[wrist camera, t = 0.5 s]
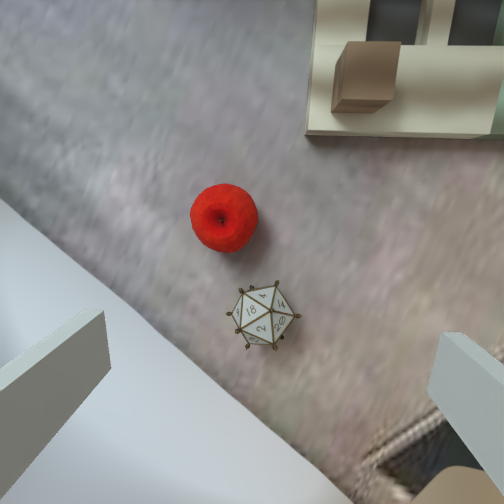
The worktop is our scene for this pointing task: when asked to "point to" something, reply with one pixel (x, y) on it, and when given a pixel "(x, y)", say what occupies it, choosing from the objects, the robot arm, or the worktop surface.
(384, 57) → the block
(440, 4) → the shape sorter board
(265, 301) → the game die
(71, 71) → the worktop surface
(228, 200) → the apple
